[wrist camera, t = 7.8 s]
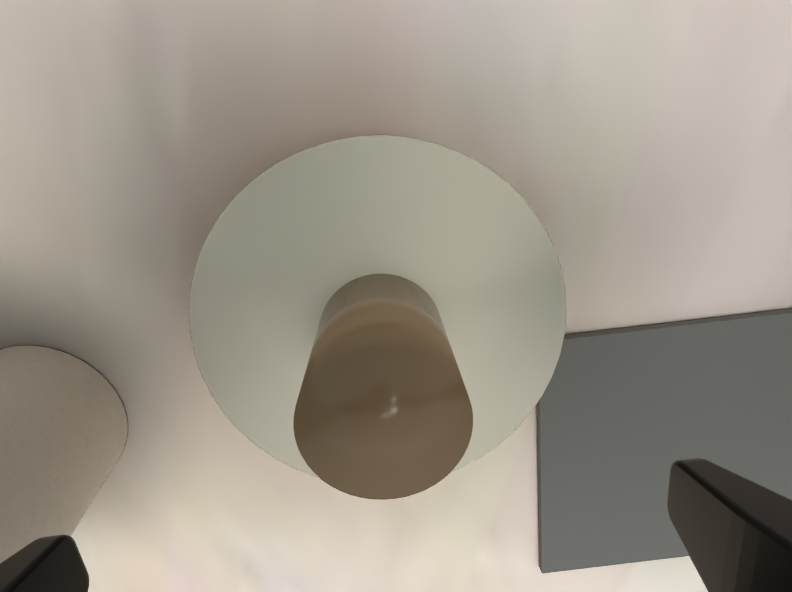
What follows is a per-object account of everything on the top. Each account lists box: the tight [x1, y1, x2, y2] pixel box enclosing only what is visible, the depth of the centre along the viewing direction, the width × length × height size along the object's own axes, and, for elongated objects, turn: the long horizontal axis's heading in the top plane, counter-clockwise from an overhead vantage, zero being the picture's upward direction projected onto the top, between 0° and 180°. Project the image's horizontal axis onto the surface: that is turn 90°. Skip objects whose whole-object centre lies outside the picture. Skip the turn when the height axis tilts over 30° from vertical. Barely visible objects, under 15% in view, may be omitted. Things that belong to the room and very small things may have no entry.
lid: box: [189, 135, 566, 500], centre depth 12 cm, size 11×11×6 cm
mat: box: [537, 308, 792, 573], centre depth 21 cm, size 12×12×1 cm
